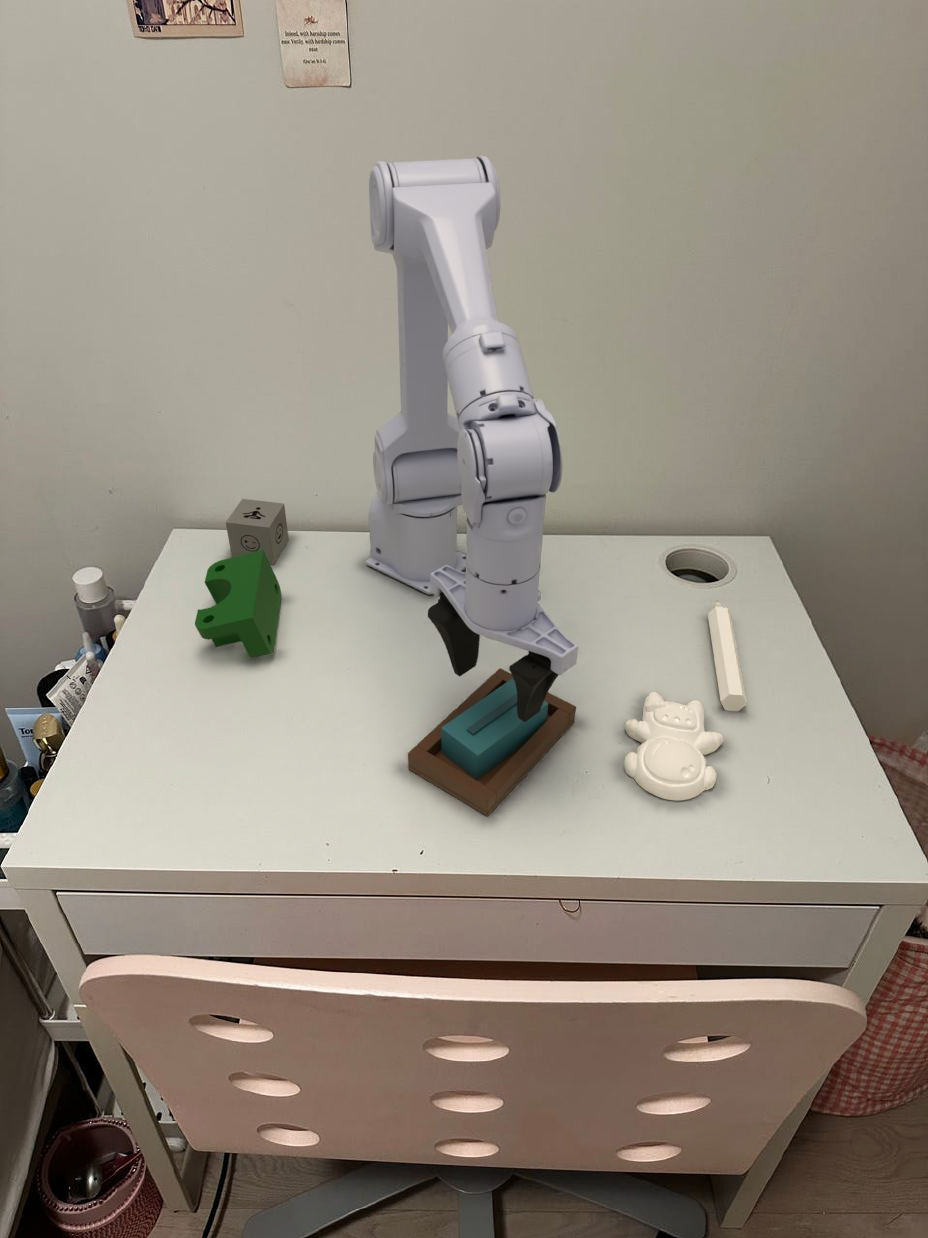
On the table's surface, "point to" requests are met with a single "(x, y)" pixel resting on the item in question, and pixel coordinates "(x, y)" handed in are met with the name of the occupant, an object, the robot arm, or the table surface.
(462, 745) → the teal rectangular block
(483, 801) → the frame
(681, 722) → the cream flat figure
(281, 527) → the dice cube
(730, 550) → the table surface
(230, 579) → the clamp
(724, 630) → the marker
